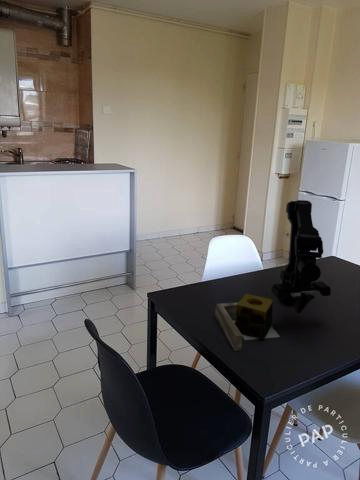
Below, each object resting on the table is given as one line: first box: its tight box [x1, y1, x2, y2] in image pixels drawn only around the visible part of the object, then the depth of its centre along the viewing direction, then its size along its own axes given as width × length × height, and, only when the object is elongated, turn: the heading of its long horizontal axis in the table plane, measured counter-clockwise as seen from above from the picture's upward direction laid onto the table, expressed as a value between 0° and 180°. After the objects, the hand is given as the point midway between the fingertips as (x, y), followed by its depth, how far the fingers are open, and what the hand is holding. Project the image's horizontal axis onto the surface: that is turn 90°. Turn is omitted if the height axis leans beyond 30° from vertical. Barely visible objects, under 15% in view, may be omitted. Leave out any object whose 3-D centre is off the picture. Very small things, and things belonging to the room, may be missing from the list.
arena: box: [214, 302, 243, 351], centre depth 123 cm, size 20×21×5 cm
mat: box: [233, 320, 281, 341], centre depth 124 cm, size 12×12×1 cm
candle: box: [234, 293, 275, 341], centre depth 122 cm, size 10×10×10 cm
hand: (298, 312), depth 125 cm, fingers closed
